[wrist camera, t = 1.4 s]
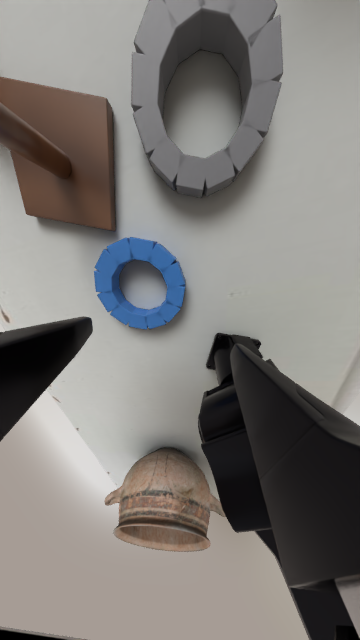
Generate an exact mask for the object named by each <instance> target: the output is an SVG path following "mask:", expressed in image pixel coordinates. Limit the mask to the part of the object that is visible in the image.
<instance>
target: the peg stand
mask: <svg viewBox="0 0 360 640" xmlns="http://www.w3.org/2000/svg"><path fill="white" fill-rule="evenodd" d="M0 145H2V146H4V147H6V148H7V149H9V150H10V151H11V155H12V159H13V163H14V167H15V171H16V175H17V179H18V183H19V187H20V191H21V195H22V199H23V203H24V207H25V211H26V214H27V215H31V216H35V217H41V218H46V219H51V220H57V221H62V222H68V223H73V224H78V225H84V226H89V227H94V228H100V229H105V230H111V231H116V229H115V191H114V153H113V115H112V107H111V105H110V104H109V102H108V100H107V98H104V97H99V96H94V95H89V94H84V93H79V92H74V91H69V90H64V89H59V88H54V87H49V86H44V85H39V84H34V83H29V82H24V81H19V80H14V79H9V78H4V77H0Z"/></svg>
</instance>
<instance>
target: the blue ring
mask: <svg viewBox="0 0 360 640" xmlns="http://www.w3.org/2000/svg"><path fill="white" fill-rule="evenodd" d="M135 259H137V260H142V261H148V262H150V263H151V264H152V265H153V266H154V267H156V268H157V269H158V270H159V271H160V272H161V273H162V275H163V277H164V280H165V282H166V285H167V295H166V300H165V301H164V302H163V303H162V305H161V306H159V307H156V308H153V309H150V310H146V309H141V308H136V307H135V306H133V305H132V304H131V303H129V302H128V301H127V300H126V299H125V297H124V296H123V294H122V292H121V290H120V288H119V274H120V272H121V271H122V269H123V267H124V266H125V264H126V263H128V262H130V261H132V260H135ZM175 260H176V257H174V256H173V255H172V254H171V253H170V252H169V251H168V250H167V249H166V248H164V247H163V246H162V245H161V244H157V242H154V241H149V240H144V239H138V238H133V237H130V238H124V239H122V240H120V241H118V242H115V243H113V244H111V245H109V246H107V249H104V250H103V252H102V254H101V256H100V258H99V260H98V262H97V264H96V266H95V268H96V269H97V271H94V276H95V287H96V292H101V293H99V294H98V295H97V296H98V297H99V299H100V300H101V302H102V304H103V305H104V307H105V308H106V310H107V312H109V311H112V312H111V314H110V315H112V316H113V317H115V318H116V319H118V320H119V321H120V322H122V323H123V324H125V325H127V324H128V322H129V327H135V328H140V329H146V330H147V328H148V327H149V329H152V328H156V327H159V326H162V325H165V324H166V322H168V323H169V322H170V321H171V319H172V318H173V317H174V316H175V315H176V314H177V313H178V312H179V311H180V308H181V307H182V303H183V297H184V292H185V285H186V284H185V278H184V275H183V272H182V270H181V267H180V264H179V261H178V262H176V263H174V261H175Z"/></svg>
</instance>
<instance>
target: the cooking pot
mask: <svg viewBox="0 0 360 640" xmlns="http://www.w3.org/2000/svg"><path fill="white" fill-rule="evenodd" d="M114 503H120V504H119V525H118V526H117V527H116V528H115V529H114V531H113V534H114V535H115V536H116V537H117V538H119V539H121V540H123V541H125V542H128V543H131V544H134V545H137V546H142V547H146V548H151V549H157V550H165V551H179V552H180V551H181V552H183V551H184V552H189V551H200V550H204V549H207V548H208V547H209V546H210V541H209V539H208V538H207V537H206V535H207V529H208V524H209V517H210V511H214V512H216V513H218V514H219V515H221V516H223V517H226V516H225V514H224V512H223V509H222V506H221V502H220V501H218V500H217V499H216V498H215V497H214V496H213V495H212V494H211V493H210V489H209V485H208V483H207V480H206V478H205V475H204V473H203V472H202V470H201V469H200V468H199V467H198V465H197V464H196V463H195V462H193V461H192V460H191V459H189V458H188V457H187V456H185V455H184V454H183V453H182V452H181V451H179V450H177V449H174V448H161V449H159V450H157V451H155V452H153V453H150V454H148V455H146V456H144V457H143V458H141V459H140V460H138V461H137V462H136V463H135V464H134V465H133V466H132V468H131V469H130V470H129V472H128V474H127V475H126V477H125V479H124V482H123V485H122V486H121V487H120V488H118V489H117V490H115V491H113V492H111V493H110V494H109V495H108V496H107V497H106V498H105V505H112V504H114Z"/></svg>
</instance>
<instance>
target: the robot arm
mask: <svg viewBox="0 0 360 640" xmlns="http://www.w3.org/2000/svg"><path fill="white" fill-rule="evenodd" d="M92 331H93V327H92V320H91V318H89V317H78V318H73V319H68V320H63V321H57V322H52V323H47V324H42V325H36V326H31V327H26V328H21V329H16V330H10V331H5V332H4V333H3V332H0V441H1V440H2V439H3V438H4V436H5V435H6V434H7V433H8V432H9V431H10V430H11V429H12V427H13V426H14V425H15V424H16V423H17V422H18V421H19V419H20V418H21V417H22V416H23V415H24V414H25V413H26V411H27V410H28V409H29V408H30V407H31V406H32V404H33V403H34V402H35V401H36V400H37V399H38V398H39V397H40V395H41V394H42V393H43V392H44V391H45V390H46V389H47V387H48V386H49V385H50V384H51V383H52V382H53V381H54V379H55V378H56V377H57V376H58V375H59V374H60V373H61V371H62V370H63V369H64V368H65V367H66V366H67V365H68V364H69V362H70V361H71V360H72V359H73V358H74V357H75V356H76V354H77V353H78V352H79V350H80V349H81V348H82V346H83V345H84V344H85V342H86V341H87V339H88V338H89V336H90V335H91V334H92ZM218 336H221V337H218ZM256 343H257V344H256ZM260 345H261V342H260V341H259V340H256V339H251V338H250V337H245V336H239V335H228V334H222V333H217V334H216V335H215V338H214V342H213V345H212V348H211V351H210V354H209V357H208V360H207V363H206V367H207V368H208V369H213V370H216V374H217V379H218V384H219V386H218V387H216V388H214V389H212V390H210V391H206V392H204V395H203V400H202V404H201V409H200V414H199V417H198V428H199V433H200V437H201V440H202V444H201V447H202V450H203V452H204V454H205V456H206V458H207V460H208V462H209V465H210V467H211V470H212V473H213V476H214V479H215V483H216V486H217V490H218V494H219V498H220V502H221V506H222V509H223V512H224V514H225V516H226V517H227V519H228V521H229V523H230V524H231V526H232V528H233V530H234V531H235V532H237V533H239V532H248V531H255V533H256V534H257V535H258V536H259V538H260V539H261V540H262V541H263V543H264V544H265V545H266V546H267V547H268V548H269V550H270V551H271V552H272V553H273V555H274V556H275V558H276V560H277V563H278V565H279V567H280V569H281V572H282V574H283V576H284V579H285V581H286V584H287V586H288V588H289V591H290V593H291V596H292V598H293V601H294V603H295V606H296V608H297V611H298V613H299V616H300V618H301V620H302V623H303V625H304V628H305V630H306V633H307V635H308V638H309V640H360V426H359V425H357V424H356V423H354V422H353V421H351V420H350V419H348V418H347V417H345V416H344V415H342V414H341V413H339V412H338V411H336V410H334V409H333V408H331V407H330V406H328V405H327V404H325V403H324V402H322V401H321V400H319V399H318V398H316V397H315V396H314V395H312V394H311V393H309V392H308V391H306V390H305V389H304V388H302V387H301V386H299V385H298V384H295V382H294V381H292V380H291V379H290V378H288V377H287V376H285V375H284V374H283V373H281V372H280V371H279V370H278V368H277V367H276V366H275V365H274V363H273V362H272V361H271V359H268V360H266V361H264V360H263V359H262V358H263V356H262V355H261V353H260V352H259V350H258V349H259V347H260ZM208 365H210V366H208ZM0 640H86V639H79V638H73V637H66V636H59V635H52V634H46V633H39V632H33V631H26V630H19V629H13V628H6V627H0Z"/></svg>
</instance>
